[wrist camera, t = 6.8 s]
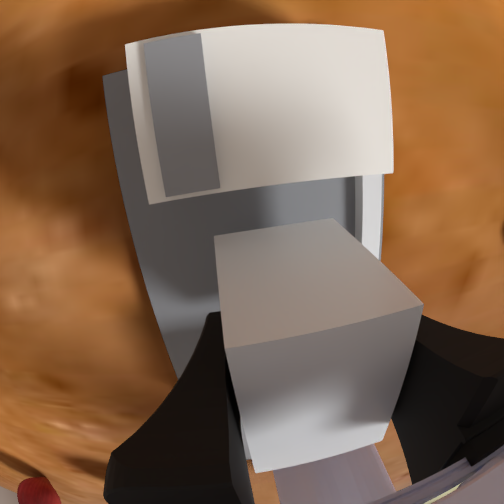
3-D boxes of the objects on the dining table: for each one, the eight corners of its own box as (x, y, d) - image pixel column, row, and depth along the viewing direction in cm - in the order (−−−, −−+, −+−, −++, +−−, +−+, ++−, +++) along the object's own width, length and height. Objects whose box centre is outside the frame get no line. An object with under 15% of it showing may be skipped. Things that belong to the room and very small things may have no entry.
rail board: (358, 367, 21) (388, 424, 16) (191, 400, 20) (193, 467, 15) (364, 54, 13) (433, 38, 8) (110, 78, 12) (59, 62, 7)
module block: (330, 339, 14) (382, 440, 9) (236, 357, 14) (255, 473, 9) (332, 218, 12) (423, 304, 6) (214, 235, 11) (224, 348, 6)
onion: (23, 473, 25) (12, 520, 17) (23, 460, 23) (10, 513, 16) (62, 490, 27) (55, 538, 19) (67, 480, 25) (59, 533, 18)
